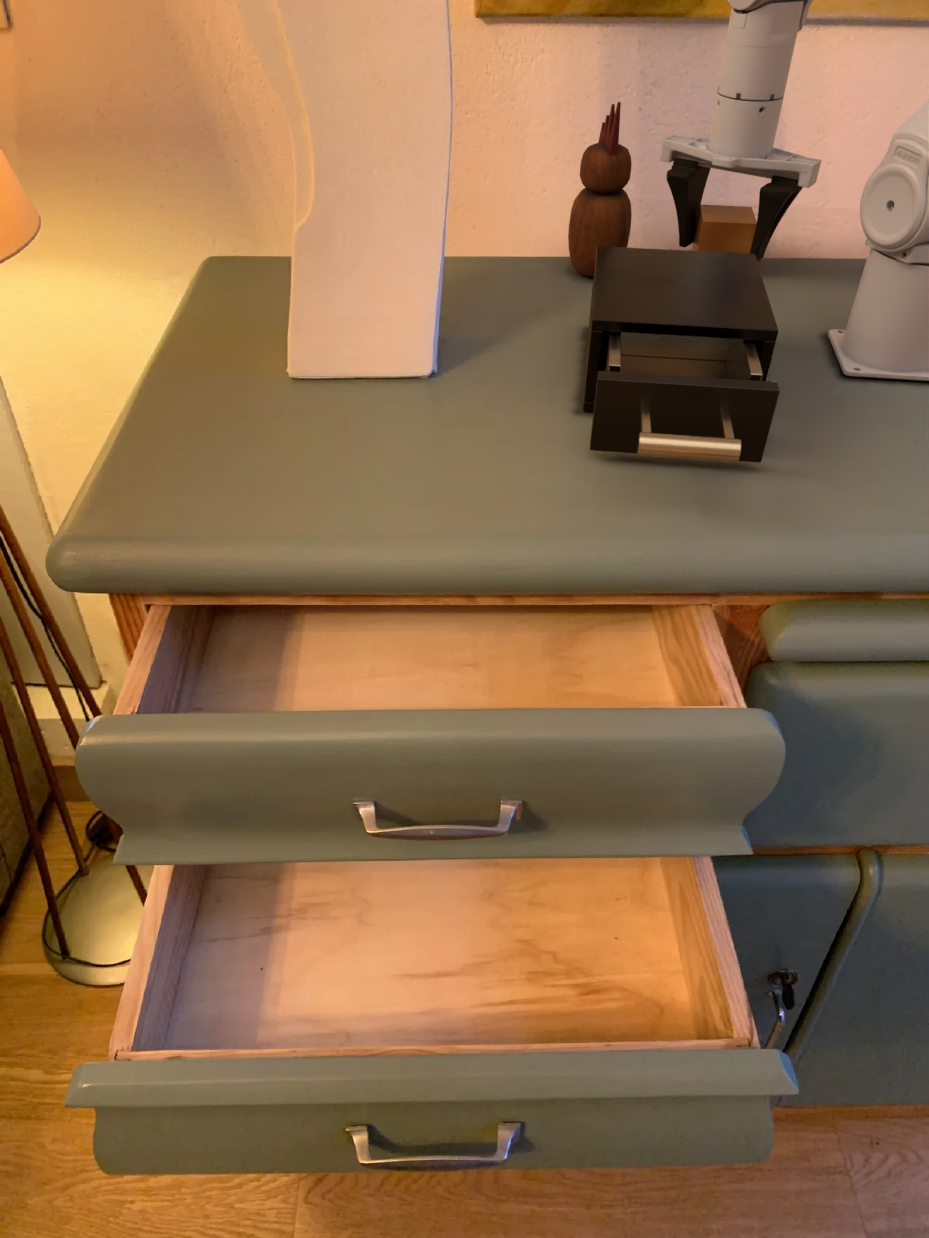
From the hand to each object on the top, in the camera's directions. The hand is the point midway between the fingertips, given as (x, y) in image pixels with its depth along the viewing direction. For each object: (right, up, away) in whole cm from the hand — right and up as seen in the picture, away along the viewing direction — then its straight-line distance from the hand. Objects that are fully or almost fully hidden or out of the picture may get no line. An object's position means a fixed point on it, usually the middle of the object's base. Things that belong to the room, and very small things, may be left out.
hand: (720, 252), depth 87 cm
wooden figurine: (-12, -2, 0) cm, 12 cm away
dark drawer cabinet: (-9, -16, -16) cm, 25 cm away
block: (0, -1, +1) cm, 1 cm away
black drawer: (-10, -23, -24) cm, 35 cm away
